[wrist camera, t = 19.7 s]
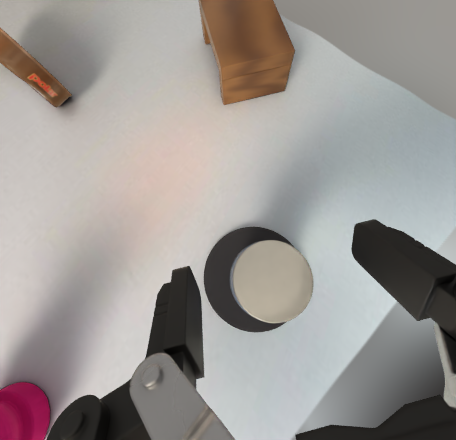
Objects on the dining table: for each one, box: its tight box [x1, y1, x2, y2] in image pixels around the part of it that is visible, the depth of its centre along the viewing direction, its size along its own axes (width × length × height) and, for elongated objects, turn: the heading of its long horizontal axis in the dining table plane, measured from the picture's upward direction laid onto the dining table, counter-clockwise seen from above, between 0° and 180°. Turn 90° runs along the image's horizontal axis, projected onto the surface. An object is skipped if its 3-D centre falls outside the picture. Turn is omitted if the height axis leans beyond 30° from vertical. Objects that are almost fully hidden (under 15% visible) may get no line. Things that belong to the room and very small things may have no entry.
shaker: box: [230, 240, 313, 323], centre depth 16 cm, size 4×4×10 cm
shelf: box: [199, 0, 295, 105], centre depth 26 cm, size 8×12×5 cm, turn 14°
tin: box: [0, 28, 72, 107], centre depth 24 cm, size 15×3×8 cm, turn 49°
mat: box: [204, 227, 294, 332], centre depth 21 cm, size 10×10×1 cm
